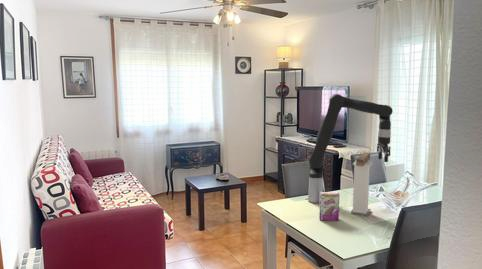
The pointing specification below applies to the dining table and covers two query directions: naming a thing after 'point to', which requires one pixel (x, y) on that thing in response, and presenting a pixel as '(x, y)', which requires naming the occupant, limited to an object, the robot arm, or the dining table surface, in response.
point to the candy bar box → (329, 206)
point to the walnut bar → (362, 159)
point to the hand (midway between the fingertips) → (382, 160)
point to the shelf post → (361, 189)
